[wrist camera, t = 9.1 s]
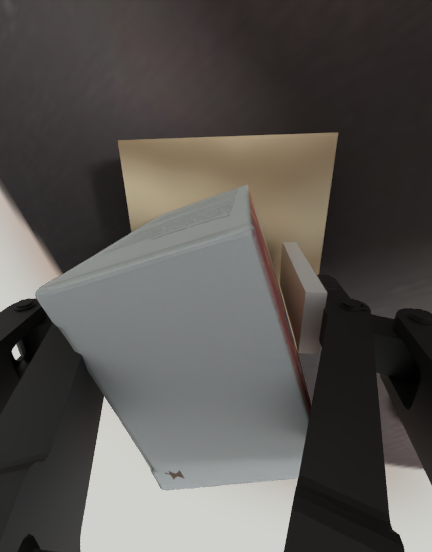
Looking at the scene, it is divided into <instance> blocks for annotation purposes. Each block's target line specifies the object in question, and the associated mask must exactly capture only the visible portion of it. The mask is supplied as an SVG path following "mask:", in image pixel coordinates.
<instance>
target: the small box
mask: <svg viewBox="0 0 432 552" xmlns="http://www.w3.org/2000/svg"><path fill="white" fill-rule="evenodd" d="M36 298H37V300H38V302H39V303H40V305H41V306H42V308H43V309H44V310H45V312H46V313H47V315H48V316H49V318H50V319H51V321H52V322H53V323H54V324H55V325H56V326H57V327H58V328H59V329H60V330H61V332H62V333H63V335H64V336H65V337H66V339H67V340H68V342H69V343H70V345H71V346H72V348H73V349H74V351H75V352H77V353H79V354H82V357H83V359H84V362H85V365H86V368H87V370H88V372H89V373H90V375H91V376H92V378H93V379H94V381H95V383H96V384H97V386H98V387H99V388H100V390H101V392H102V393H103V395H104V396H105V398H106V399H107V401H108V403H109V404H110V406H111V407H112V409H113V410H114V412H115V413H116V414H117V416H118V417H119V419H120V421H121V422H122V424H123V426H124V427H125V428H126V430H127V432H128V433H129V435H130V436H131V438H132V440H133V441H134V443H135V444H136V446H137V447H138V449H139V450H140V452H141V454H142V455H143V457H144V459H145V460H146V462H147V464H148V465H149V467H150V469H151V472H152V474H153V475H154V477H155V479H156V480H157V482H158V484H159V486H160V488H161V489H163V490H174V489H185V488H199V487H210V486H220V485H228V484H242V483H251V482H262V481H273V480H285V479H294V478H298V477H299V471H300V466H301V460H302V455H303V449H304V444H305V438H306V433H307V428H308V422H309V417H310V411H311V402H310V398H309V394H308V390H307V386H306V383H305V379H304V375H303V371H302V367H301V364H300V360H299V356H298V352H297V349H296V345H295V341H294V337H293V334H292V330H291V326H290V323H289V319H288V315H287V312H286V308H285V305H284V301H283V298H282V294H281V291H280V287H279V284H278V281H277V277H276V274H275V271H274V267H273V264H272V261H271V258H270V254H269V251H268V248H267V245H266V241H265V238H264V234H263V231H262V228H261V224H260V221H259V217H258V214H257V211H256V207H255V204H254V200H253V197H252V193H251V190H250V187H249V186H248V185H245V186H241V187H238V188H235V189H233V190H230V191H227V192H224V193H221V194H218V195H215V196H212V197H209V198H207V199H204V200H201V201H198V202H195V203H193V204H190V205H187V206H184V207H181V208H179V209H176V210H173V211H171V212H168V213H165V214H162V215H160V216H159V217H157V218H155V219H154V220H152V221H150V222H149V223H147V224H145V225H144V226H142V227H140V228H139V229H137V230H135V231H134V232H132V233H130V234H128V235H127V236H125V237H123V238H122V239H120V240H118V241H117V242H115V243H114V244H112V245H110V246H109V247H107V248H105V249H104V250H102V251H100V252H99V253H97V254H96V255H94V256H92V257H91V258H89V259H87V260H86V261H84V262H82V263H80V264H79V265H77V266H76V267H74V268H72V269H71V270H69V271H67V272H65V273H64V274H62V275H60V276H59V277H57V278H55V279H53V280H52V281H50V282H48V283H46V284H45V285H43V286H42V287H40V288H39V289H38V290H37V291H36Z"/></svg>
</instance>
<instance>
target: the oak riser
mask: <svg viewBox="0 0 432 552" xmlns="http://www.w3.org/2000/svg"><path fill="white" fill-rule="evenodd" d="M337 138H338V132H337V133H309V134H281V135H253V136H225V137H197V138H169V139H141V140H118V146H119V153H120V159H121V166H122V173H123V179H124V186H125V192H126V199H127V206H128V212H129V219H130V226H131V232H134V231H135V230H137V229H139V228H140V227H142V226H144V225H145V224H147V223H149V222H150V221H152V220H154V219H155V218H157V217H159V216H160V215H162V214H165V213H168V212H171V211H173V210H176V209H179V208H181V207H184V206H187V205H190V204H193V203H195V202H198V201H201V200H204V199H207V198H209V197H212V196H215V195H218V194H221V193H224V192H227V191H230V190H233V189H235V188H238V187H241V186H245V185H248V186H249V187H250V190H251V193H252V197H253V200H254V204H255V207H256V211H257V214H258V217H259V221H260V224H261V228H262V231H263V234H264V238H265V241H266V245H267V248H268V251H269V254H270V258H271V261H272V264H273V267H274V271H275V274H276V277H277V281H278V284H279V287H280V271H281V258H282V245H283V242H296V243H297V245H298V246H299V248H300V249H301V251H302V253H303V254H304V256H305V257H306V259H307V261H308V262H309V264H310V265H311V267H312V269H313V270H314V272H315V274H316V275H319V269H320V261H321V254H322V247H323V240H324V233H325V225H326V218H327V211H328V204H329V196H330V189H331V182H332V175H333V167H334V160H335V153H336V146H337ZM280 291H281V288H280ZM281 294H282V292H281ZM282 298H283V295H282ZM283 301H284V299H283ZM284 305H285V303H284ZM285 308H286V306H285ZM286 312H287V310H286ZM287 315H288V314H287ZM288 319H289V317H288ZM289 323H290V321H289ZM290 326H291V325H290ZM291 330H292V328H291ZM292 334H293V332H292ZM293 337H294V336H293ZM294 341H295V339H294ZM295 345H296V343H295ZM296 349H297V346H296Z"/></svg>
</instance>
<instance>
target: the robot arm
mask: <svg viewBox="0 0 432 552" xmlns="http://www.w3.org/2000/svg"><path fill="white" fill-rule="evenodd" d="M280 288H281V292H282V295H283V299H284V303H285V306H286V310H287V314H288V317H289V321H290V325H291V328H292V332H293V336H294V339H295V343H296V346H297V350H298V353H306V354H318V350H319V344H321V346H322V351H321V357H320V362H319V367H318V373H317V378H316V384H315V389H314V395H313V400H312V406H311V411H310V417H309V422H308V428H307V433H306V438H305V444H304V449H303V455H302V460H301V466H300V471H299V477H298V482H297V487H296V490H295V495H294V501H293V506H292V511H291V517H290V522H289V528H288V533H287V538H286V544H285V550H284V552H404V546H403V544H402V541H401V538H400V535H399V534H397V533H396V532H394V531H393V530H392V527H391V524H390V518H389V510H388V498H387V487H386V476H385V465H384V454H383V443H382V432H381V421H380V410H379V399H378V388H377V377H376V372H377V373H380V376H381V379H382V381H383V383H384V385H385V387H386V389H387V392H388V394H389V396H390V398H391V400H392V402H393V404H394V406H395V408H396V411H397V413H398V415H399V417H400V419H401V421H402V423H403V425H404V427H405V430H406V432H407V434H408V436H409V438H410V440H411V442H412V444H413V446H414V449H415V451H416V453H417V455H418V457H419V459H420V461H421V463H422V465H423V468H424V470H425V472H426V474H427V476H428V478H429V480H430V482H431V484H432V314H431V313H430V312H428V311H425V310H424V311H423V310H421V309H411V308H409V309H400V310H398V311H397V313H396V316H395V319H391V318H386V317H380V316H376V315H372V314H371V311H370V308H369V306H367V305H366V304H365V303H363V302H360V301H358V300H355V299H350V298H349V296H348V295H347V294H346V292H345V291H344V290H343V288H342V287H341V286H340V284H339V283H338V282H337V280H336V279H334V278H332V277H330V276H329V275H316V274H315V272H314V270H313V269H312V267H311V265H310V264H309V262H308V261H307V259H306V257H305V256H304V254H303V253H302V251H301V249H300V248H299V246H298V245H297V243H296V242H283V245H282V258H281V271H280ZM16 344H17V346H18V349H19V352H20V354H21V356H20V357H19V358H18V359H17V360H15V359H14V357H13V355H12V352H11V351H12V349H13V347H14V346H15V345H16ZM103 398H104V395H103V393H102V392H101V390H100V388H99V387H98V386H97V384H96V383H95V381H94V379H93V378H92V376H91V375H90V373H89V372H88V370H87V368H86V365H85V362H84V359H83V357H82V354H79V353H77V352H75V351H74V349H73V348H72V346H71V345H70V343H69V342H68V340H67V339H66V337H65V336H64V335H63V333H62V332H61V330H60V329H59V328H58V327H57V326H56V325H55V324H54V323H53V322H52V321H51V319H50V318H49V316H48V315H47V313H46V312H45V310H44V309H43V308H42V306H41V305H40V303H39V302H38V300H37V299H26V300H21V301H19V302H17V303H15V304H13V305H11V306H9V307H7V308H6V309H5V310H3V311H2V312H0V552H80V534H81V526H82V521H83V515H84V509H85V503H86V497H87V491H88V486H89V480H90V474H91V468H92V462H93V456H94V451H95V445H96V439H97V433H98V427H99V421H100V416H101V410H102V404H103Z"/></svg>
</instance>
